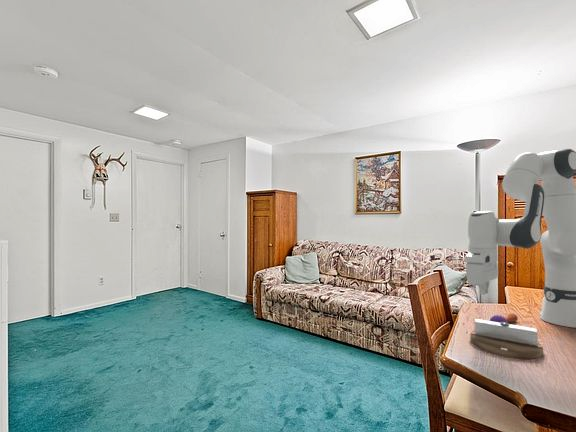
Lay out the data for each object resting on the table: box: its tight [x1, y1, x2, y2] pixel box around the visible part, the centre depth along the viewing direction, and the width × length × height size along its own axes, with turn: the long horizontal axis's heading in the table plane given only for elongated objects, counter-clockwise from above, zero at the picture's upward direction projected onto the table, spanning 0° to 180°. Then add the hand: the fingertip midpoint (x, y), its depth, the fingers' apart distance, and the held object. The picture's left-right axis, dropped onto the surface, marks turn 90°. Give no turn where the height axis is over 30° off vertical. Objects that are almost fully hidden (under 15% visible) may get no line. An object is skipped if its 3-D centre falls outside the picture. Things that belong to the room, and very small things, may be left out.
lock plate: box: [469, 330, 544, 361], centre depth 103 cm, size 20×20×3 cm
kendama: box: [489, 313, 519, 323], centre depth 121 cm, size 6×6×20 cm
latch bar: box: [474, 318, 539, 346], centre depth 103 cm, size 17×4×5 cm, turn 56°
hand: (484, 294), depth 109 cm, fingers closed
